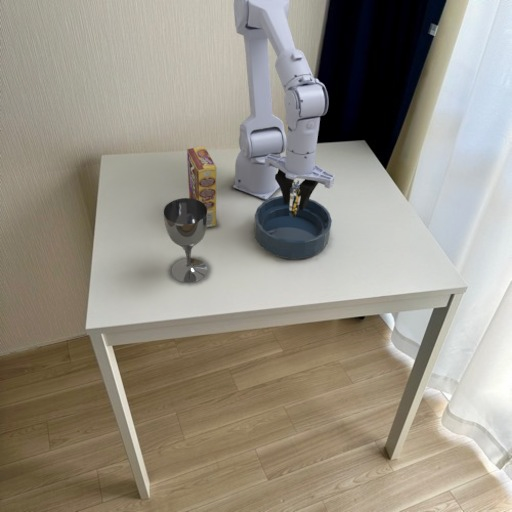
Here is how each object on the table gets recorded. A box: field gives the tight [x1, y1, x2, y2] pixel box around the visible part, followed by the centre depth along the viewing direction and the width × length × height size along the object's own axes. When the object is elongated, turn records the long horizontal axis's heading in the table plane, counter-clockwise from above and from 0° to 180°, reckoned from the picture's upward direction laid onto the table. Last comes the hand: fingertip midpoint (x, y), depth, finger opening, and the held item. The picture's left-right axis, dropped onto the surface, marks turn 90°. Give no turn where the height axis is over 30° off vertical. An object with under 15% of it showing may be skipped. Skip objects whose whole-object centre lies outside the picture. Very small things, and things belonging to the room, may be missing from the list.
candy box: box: [186, 146, 217, 228], centre depth 113 cm, size 9×4×15 cm, turn 20°
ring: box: [289, 179, 302, 217], centre depth 107 cm, size 7×3×8 cm, turn 160°
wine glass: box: [162, 197, 208, 284], centre depth 100 cm, size 8×8×15 cm
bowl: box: [253, 194, 333, 260], centre depth 112 cm, size 16×16×5 cm
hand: (295, 204), depth 108 cm, fingers closed on ring, 3 cm apart
